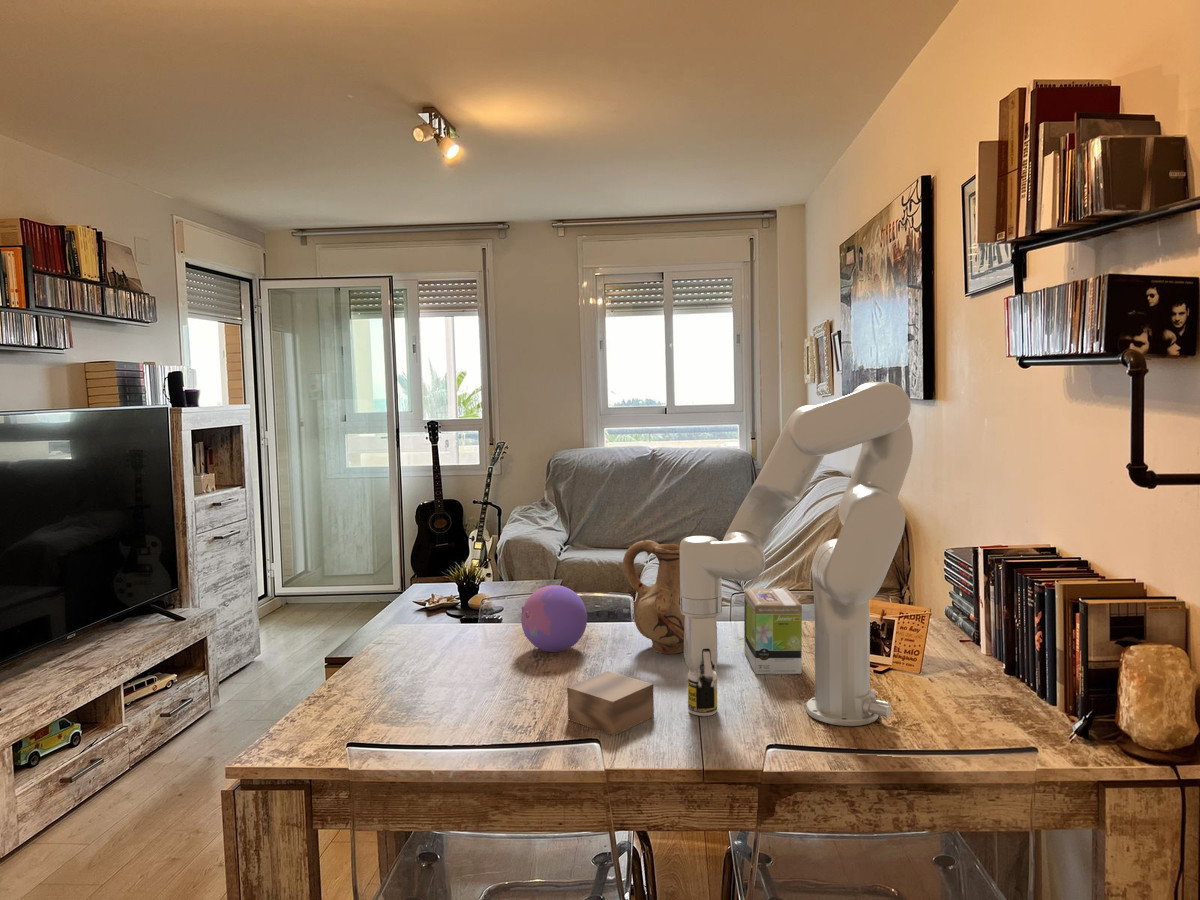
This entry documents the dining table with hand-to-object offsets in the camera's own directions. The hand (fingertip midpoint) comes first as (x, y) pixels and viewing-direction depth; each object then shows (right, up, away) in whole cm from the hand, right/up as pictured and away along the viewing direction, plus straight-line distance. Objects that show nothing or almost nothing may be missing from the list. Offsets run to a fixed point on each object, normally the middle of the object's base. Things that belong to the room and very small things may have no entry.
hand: (702, 700), depth 153 cm
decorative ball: (-29, 0, +38) cm, 48 cm away
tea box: (+18, 0, +26) cm, 31 cm away
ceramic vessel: (-2, 0, +36) cm, 36 cm away
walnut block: (-17, -3, -2) cm, 17 cm away
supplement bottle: (0, -2, 0) cm, 2 cm away
